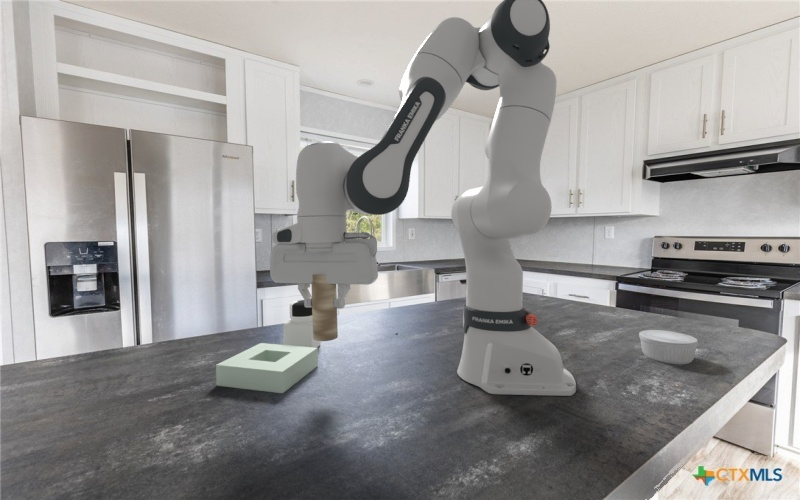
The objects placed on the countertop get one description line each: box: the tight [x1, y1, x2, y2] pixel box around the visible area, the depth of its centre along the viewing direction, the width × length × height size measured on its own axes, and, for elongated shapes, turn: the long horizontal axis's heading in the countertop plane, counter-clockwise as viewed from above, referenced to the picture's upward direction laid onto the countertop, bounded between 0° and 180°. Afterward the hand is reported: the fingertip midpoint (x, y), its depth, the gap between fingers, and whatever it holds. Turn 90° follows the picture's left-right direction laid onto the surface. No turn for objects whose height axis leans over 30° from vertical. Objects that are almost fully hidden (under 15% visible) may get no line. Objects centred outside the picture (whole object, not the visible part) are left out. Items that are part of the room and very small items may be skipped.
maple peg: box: [310, 275, 339, 342], centre depth 68 cm, size 4×4×12 cm
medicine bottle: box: [282, 299, 322, 348], centre depth 91 cm, size 7×7×12 cm
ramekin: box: [638, 329, 699, 365], centre depth 86 cm, size 11×11×5 cm
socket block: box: [215, 342, 319, 394], centre depth 74 cm, size 14×14×4 cm
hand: (324, 307), depth 68 cm, fingers closed on maple peg, 4 cm apart
